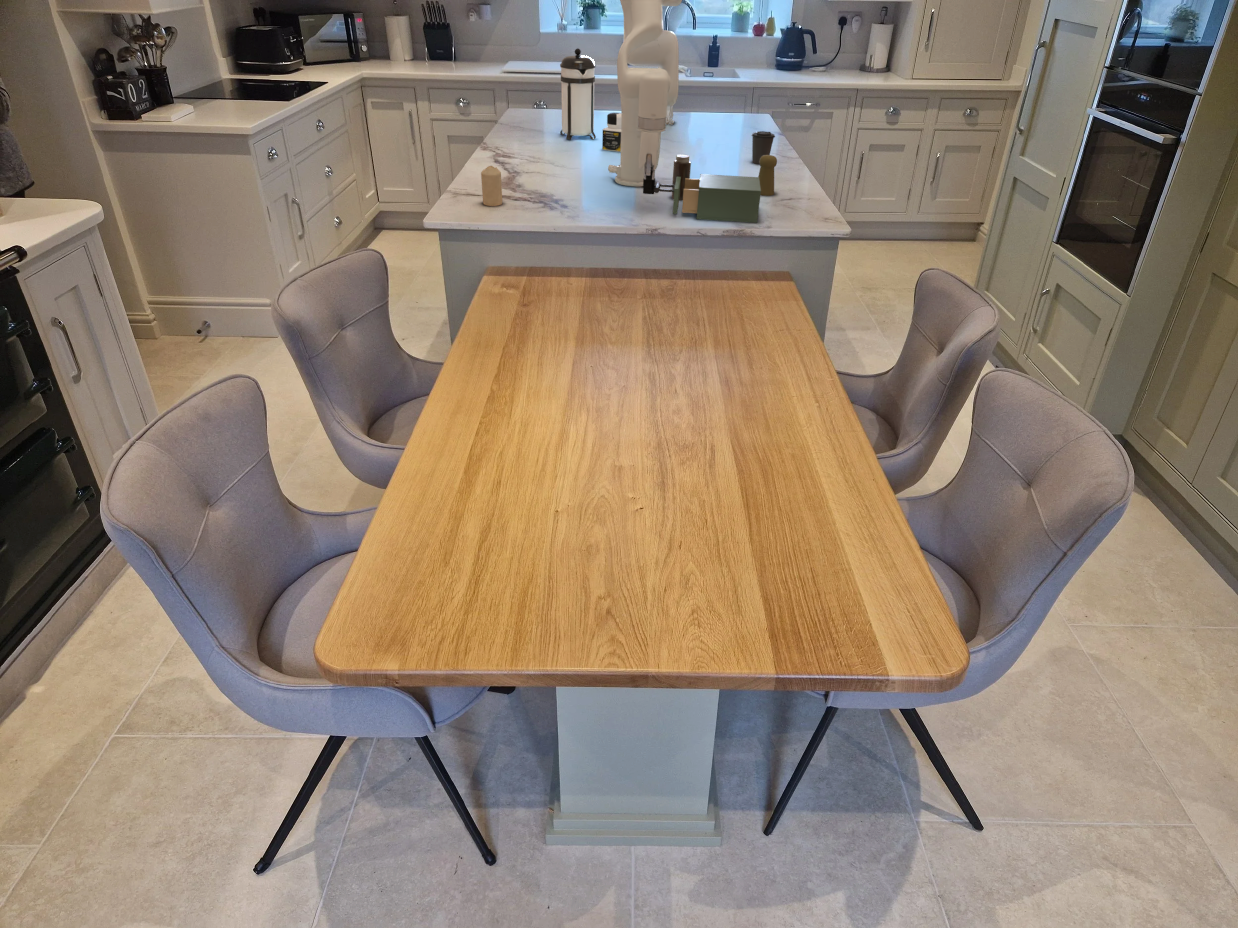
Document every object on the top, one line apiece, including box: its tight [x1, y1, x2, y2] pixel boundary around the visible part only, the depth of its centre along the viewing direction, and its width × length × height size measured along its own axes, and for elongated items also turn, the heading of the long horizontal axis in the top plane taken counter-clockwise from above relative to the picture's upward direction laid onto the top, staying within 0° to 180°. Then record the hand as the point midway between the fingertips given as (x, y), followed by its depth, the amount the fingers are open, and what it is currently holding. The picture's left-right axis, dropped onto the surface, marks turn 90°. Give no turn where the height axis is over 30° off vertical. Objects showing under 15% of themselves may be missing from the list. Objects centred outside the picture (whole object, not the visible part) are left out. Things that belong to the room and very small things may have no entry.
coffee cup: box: [751, 130, 776, 166], centre depth 277 cm, size 8×8×10 cm
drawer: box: [654, 177, 700, 215], centre depth 227 cm, size 21×13×7 cm, turn 84°
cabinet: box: [696, 173, 762, 224], centre depth 226 cm, size 17×15×9 cm
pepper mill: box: [671, 154, 692, 201], centre depth 237 cm, size 5×5×12 cm
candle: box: [480, 165, 503, 207], centre depth 227 cm, size 6×6×10 cm
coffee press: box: [559, 48, 597, 141], centre depth 299 cm, size 17×16×30 cm
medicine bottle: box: [601, 112, 621, 153], centre depth 287 cm, size 7×7×12 cm
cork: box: [757, 154, 778, 197], centre depth 244 cm, size 6×6×11 cm
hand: (648, 193), depth 227 cm, fingers closed
